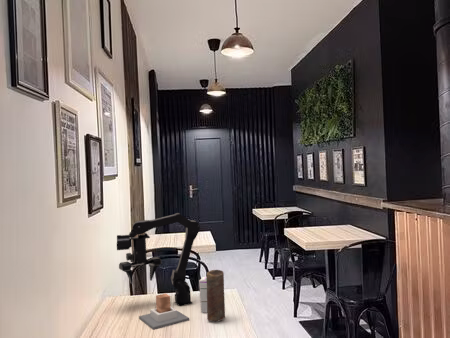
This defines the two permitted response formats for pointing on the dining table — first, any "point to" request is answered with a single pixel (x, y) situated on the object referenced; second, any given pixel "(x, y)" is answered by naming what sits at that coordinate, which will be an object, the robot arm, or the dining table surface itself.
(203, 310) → the syrup box
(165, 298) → the peg
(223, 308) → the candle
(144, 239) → the robot arm
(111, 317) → the dining table surface
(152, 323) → the socket
